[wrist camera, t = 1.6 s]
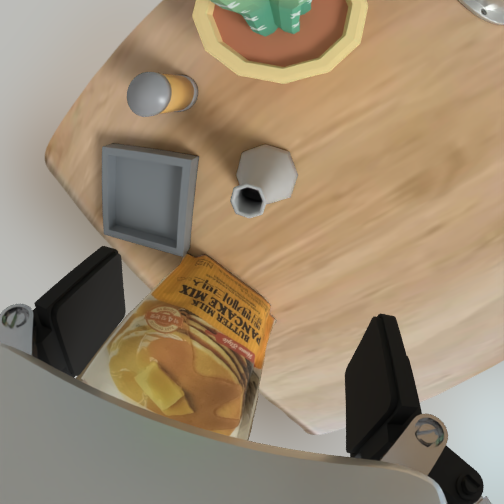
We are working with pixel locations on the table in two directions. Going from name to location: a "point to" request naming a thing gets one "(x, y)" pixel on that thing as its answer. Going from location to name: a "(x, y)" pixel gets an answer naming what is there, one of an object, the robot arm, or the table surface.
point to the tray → (149, 196)
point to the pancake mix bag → (190, 350)
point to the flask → (262, 179)
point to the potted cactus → (280, 35)
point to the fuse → (161, 93)
